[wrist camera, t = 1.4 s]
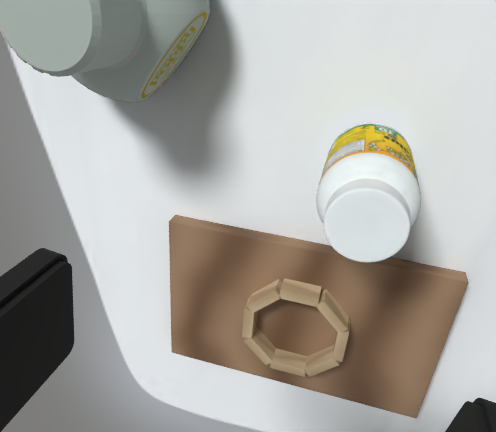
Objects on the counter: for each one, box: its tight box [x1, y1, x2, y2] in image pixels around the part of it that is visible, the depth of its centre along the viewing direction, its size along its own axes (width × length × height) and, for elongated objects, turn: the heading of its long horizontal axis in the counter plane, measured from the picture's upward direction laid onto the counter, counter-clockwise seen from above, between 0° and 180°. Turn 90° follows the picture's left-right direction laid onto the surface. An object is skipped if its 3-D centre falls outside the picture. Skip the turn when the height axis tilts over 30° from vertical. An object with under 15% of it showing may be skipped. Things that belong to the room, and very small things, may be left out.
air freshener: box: [0, 0, 210, 102], centre depth 24 cm, size 11×8×10 cm
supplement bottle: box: [316, 122, 421, 262], centre depth 24 cm, size 5×5×10 cm
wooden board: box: [169, 215, 468, 418], centre depth 34 cm, size 22×14×3 cm, turn 86°
